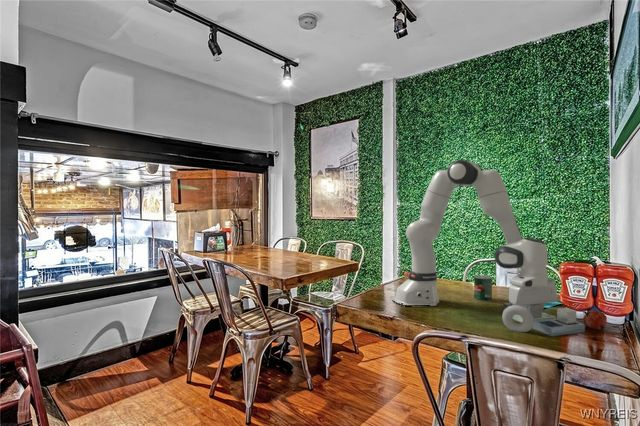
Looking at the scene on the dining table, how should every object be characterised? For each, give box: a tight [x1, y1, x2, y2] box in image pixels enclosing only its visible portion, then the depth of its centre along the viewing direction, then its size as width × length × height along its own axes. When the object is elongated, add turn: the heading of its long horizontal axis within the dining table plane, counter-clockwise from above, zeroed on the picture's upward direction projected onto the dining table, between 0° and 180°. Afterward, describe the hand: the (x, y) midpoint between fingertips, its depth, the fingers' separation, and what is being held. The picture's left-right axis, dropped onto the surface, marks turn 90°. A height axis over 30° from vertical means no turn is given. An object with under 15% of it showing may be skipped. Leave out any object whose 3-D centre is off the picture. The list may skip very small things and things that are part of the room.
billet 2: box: [556, 307, 577, 325], centre depth 124 cm, size 4×4×7 cm
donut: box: [501, 305, 534, 333], centre depth 123 cm, size 10×4×10 cm, turn 53°
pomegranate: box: [582, 309, 608, 330], centre depth 126 cm, size 7×7×10 cm
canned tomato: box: [473, 274, 493, 302], centre depth 166 cm, size 8×8×11 cm
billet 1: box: [528, 304, 543, 319], centre depth 133 cm, size 4×4×7 cm
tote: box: [512, 311, 557, 323], centre depth 133 cm, size 13×9×3 cm
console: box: [502, 302, 512, 311], centre depth 143 cm, size 7×7×4 cm
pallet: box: [532, 318, 586, 337], centre depth 123 cm, size 15×8×4 cm, turn 105°
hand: (533, 314), depth 133 cm, fingers closed on billet 1, 4 cm apart
